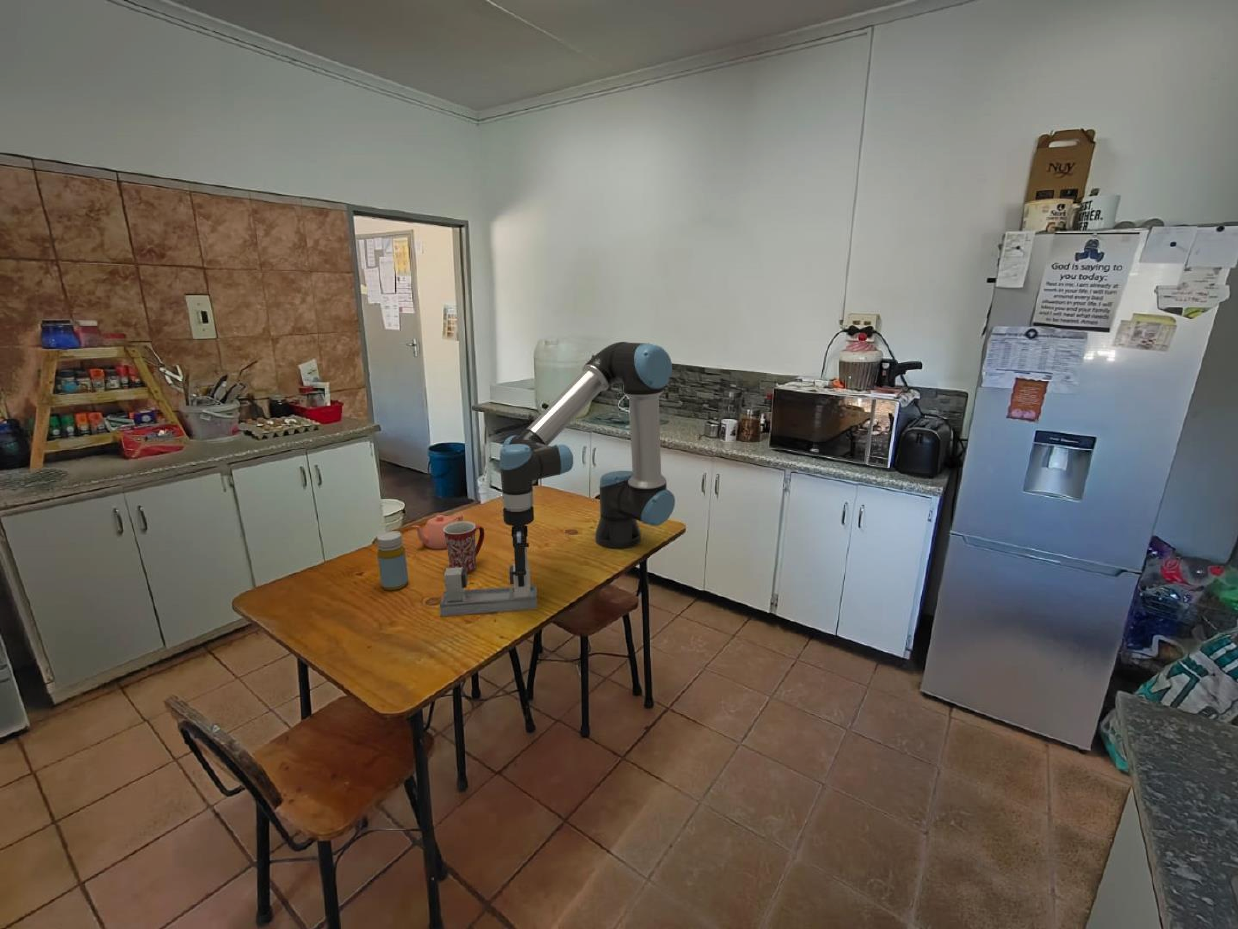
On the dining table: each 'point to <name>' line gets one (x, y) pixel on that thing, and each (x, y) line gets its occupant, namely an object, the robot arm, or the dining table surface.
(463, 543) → the mug
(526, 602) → the rail
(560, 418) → the robot arm
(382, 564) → the bottle
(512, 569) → the small grey block
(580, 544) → the dining table surface
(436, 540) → the teapot
